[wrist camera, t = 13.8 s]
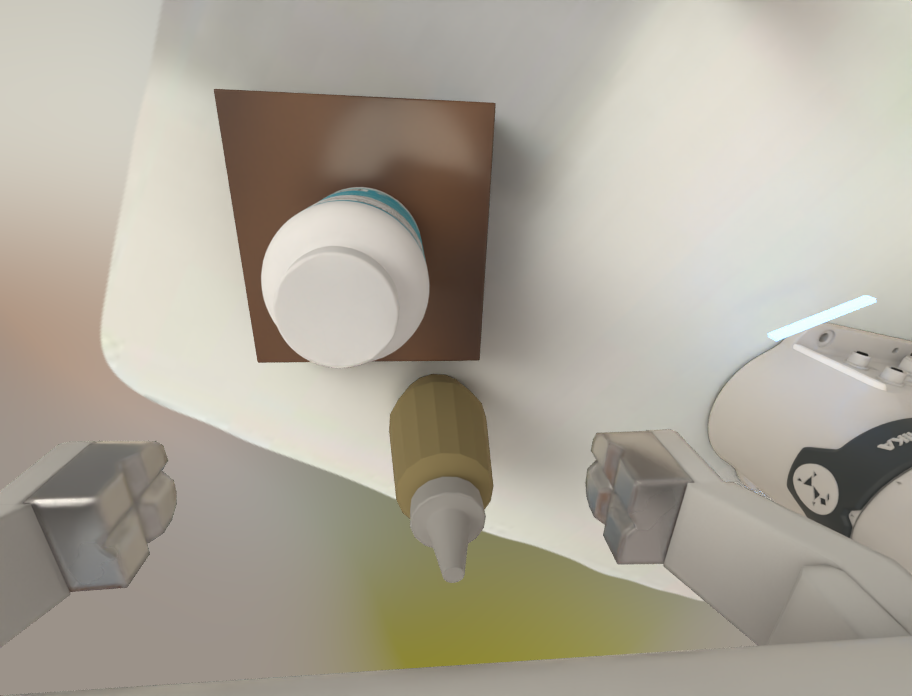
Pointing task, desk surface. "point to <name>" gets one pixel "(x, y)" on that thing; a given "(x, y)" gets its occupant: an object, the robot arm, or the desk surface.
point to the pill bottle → (347, 278)
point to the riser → (372, 166)
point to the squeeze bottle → (442, 467)
